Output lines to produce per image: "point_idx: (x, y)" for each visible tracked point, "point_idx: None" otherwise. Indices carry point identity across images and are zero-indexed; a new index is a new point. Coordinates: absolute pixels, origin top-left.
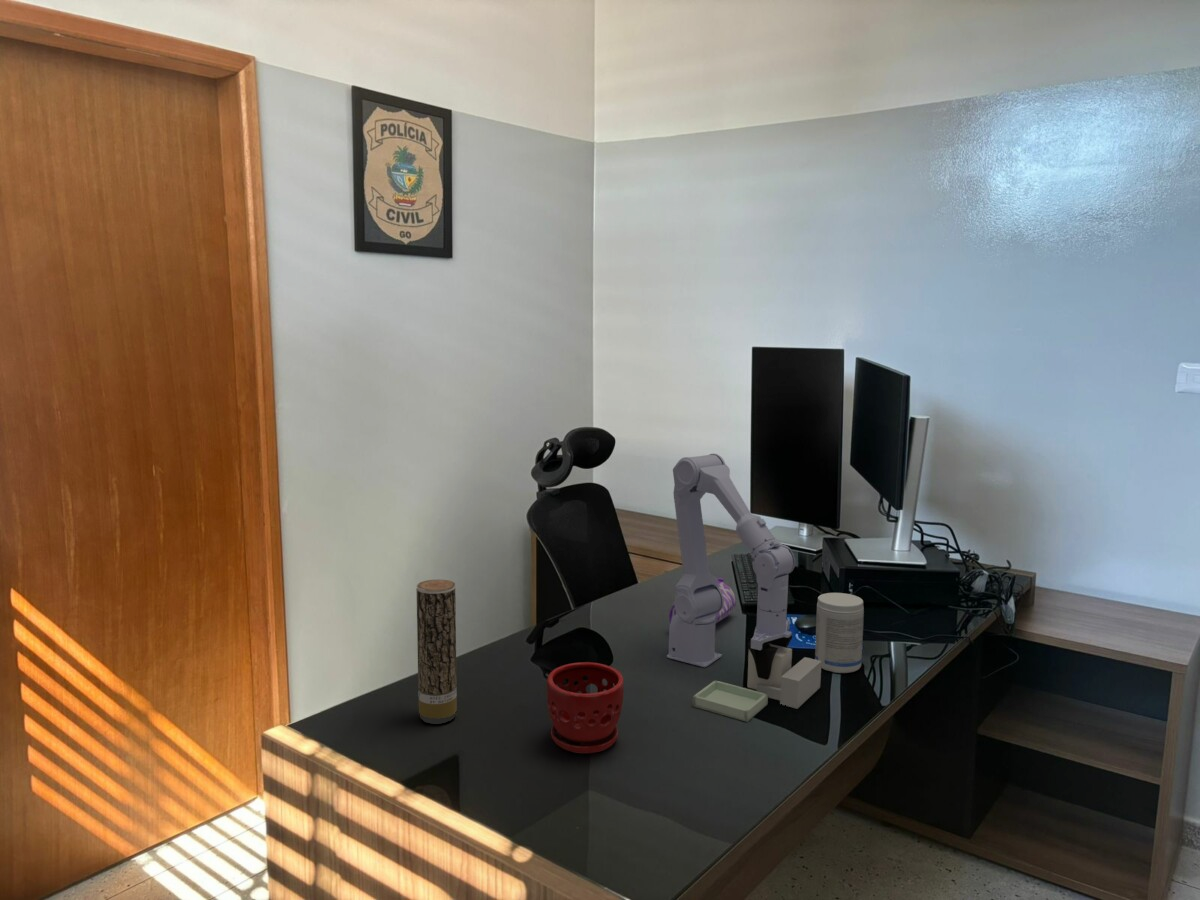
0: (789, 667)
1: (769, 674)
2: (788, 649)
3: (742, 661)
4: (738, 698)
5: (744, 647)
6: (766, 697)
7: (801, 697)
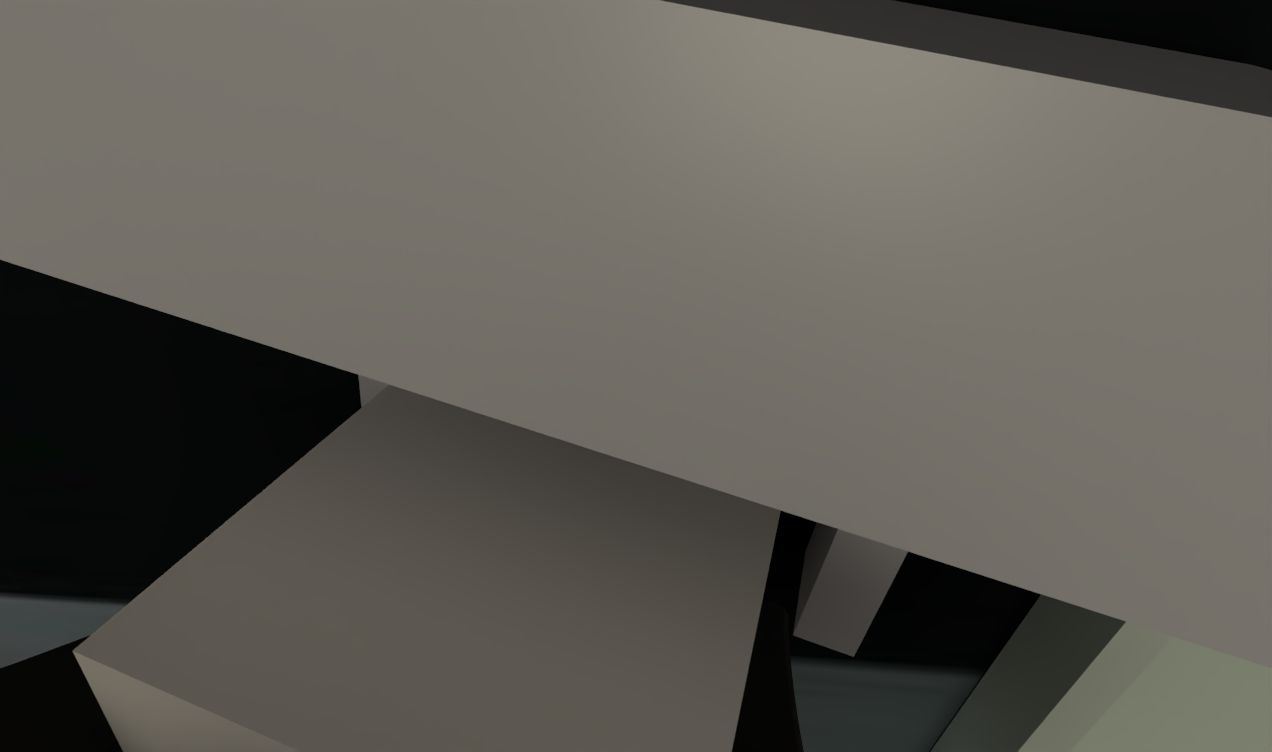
0: (434, 431)
1: (767, 651)
2: (160, 716)
3: None
4: (1102, 736)
5: (113, 606)
6: None
7: (1107, 47)
